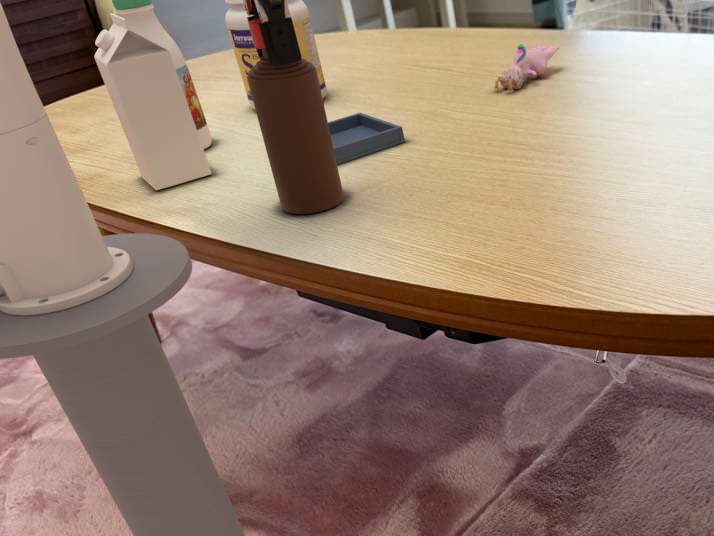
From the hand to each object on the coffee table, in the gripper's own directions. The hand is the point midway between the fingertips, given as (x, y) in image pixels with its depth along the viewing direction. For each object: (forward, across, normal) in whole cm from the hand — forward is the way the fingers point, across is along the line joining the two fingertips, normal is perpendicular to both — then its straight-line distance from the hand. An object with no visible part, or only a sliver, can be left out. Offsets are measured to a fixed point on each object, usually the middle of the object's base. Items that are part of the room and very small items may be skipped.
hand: (279, 57), depth 82 cm
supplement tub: (+16, +45, -9) cm, 49 cm away
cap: (-3, 0, 0) cm, 3 cm away
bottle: (+15, 0, +1) cm, 15 cm away
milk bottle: (+16, +34, +9) cm, 38 cm away
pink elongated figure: (+16, +26, -42) cm, 52 cm away
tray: (+15, +17, -8) cm, 24 cm away
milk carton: (+16, +22, +12) cm, 30 cm away
